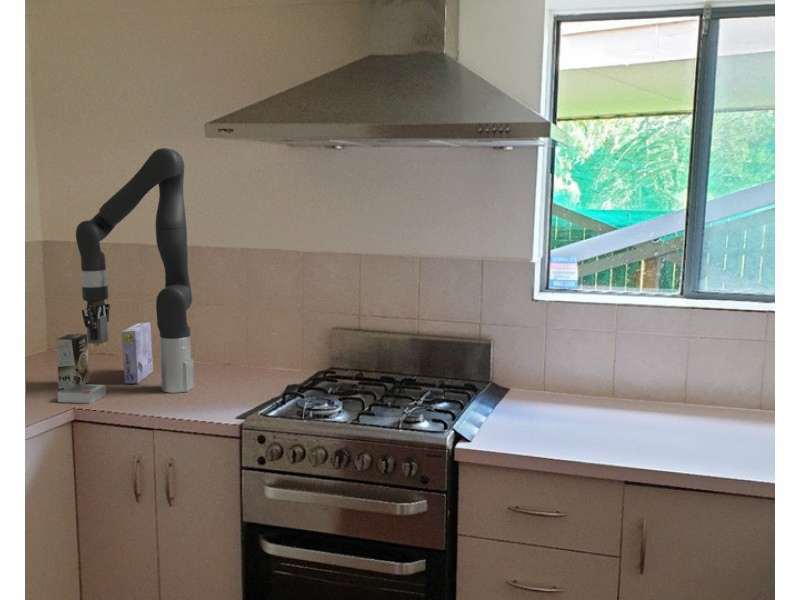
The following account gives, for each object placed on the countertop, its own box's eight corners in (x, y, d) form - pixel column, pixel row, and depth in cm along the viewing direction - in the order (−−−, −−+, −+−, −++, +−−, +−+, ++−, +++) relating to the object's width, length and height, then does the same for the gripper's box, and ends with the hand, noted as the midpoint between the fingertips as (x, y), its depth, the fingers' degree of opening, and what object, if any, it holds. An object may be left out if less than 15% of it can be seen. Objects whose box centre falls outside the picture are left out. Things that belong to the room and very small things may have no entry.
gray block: (95, 345, 244) (93, 315, 243) (108, 345, 244) (106, 315, 242) (88, 347, 240) (86, 317, 238) (101, 348, 239) (99, 317, 238)
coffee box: (78, 389, 243) (75, 339, 241) (57, 388, 243) (55, 338, 241) (90, 382, 252) (88, 333, 250) (70, 381, 252) (68, 333, 250)
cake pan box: (140, 370, 268) (138, 320, 266) (154, 370, 269) (153, 321, 266) (122, 384, 249) (120, 331, 247) (138, 384, 250) (136, 331, 247)
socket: (106, 394, 237) (105, 382, 237) (90, 403, 227) (89, 391, 227) (75, 393, 238) (74, 381, 238) (57, 402, 228) (57, 390, 228)
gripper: (95, 287, 231) (98, 343, 234) (116, 282, 246) (119, 334, 248) (71, 287, 232) (75, 343, 235) (94, 281, 246) (97, 334, 249)
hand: (98, 338), depth 241 cm, fingers closed on gray block, 4 cm apart
